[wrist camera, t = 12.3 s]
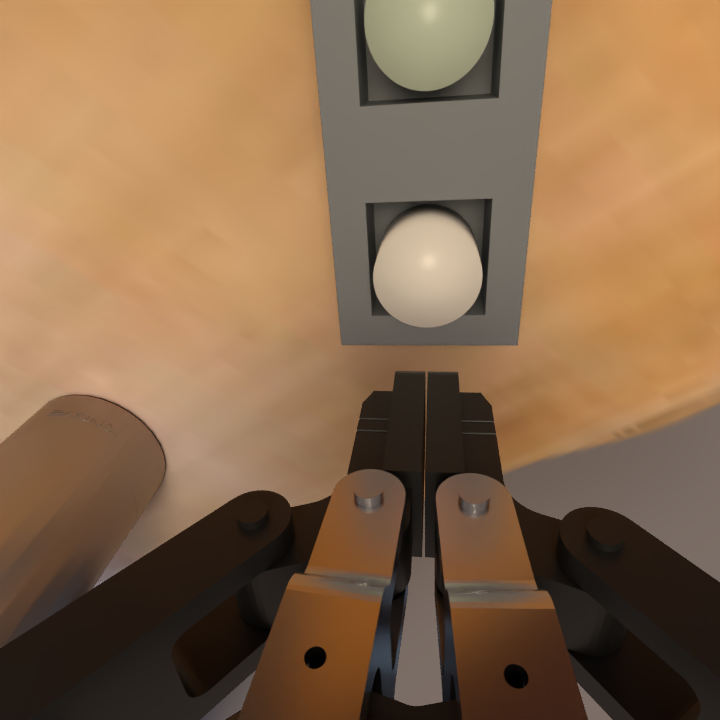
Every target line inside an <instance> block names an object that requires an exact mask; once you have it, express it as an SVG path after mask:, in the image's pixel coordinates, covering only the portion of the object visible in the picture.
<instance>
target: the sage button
mask: <svg viewBox="0 0 720 720" xmlns="http://www.w3.org/2000/svg"><path fill="white" fill-rule="evenodd" d="M493 20H494V0H366V4H365V12H364V26H365V35H366V39H367V44H368V46H369V49H370V52H371V54H372V56H373V58H374V60H375V62H376V63H377V65H378V66H379V68H380V69H381V70H382V71H383V73H384V74H385V75H386V76H388V77H389V78H390V79H391V80H392V81H394V82H395V83H397V84H399V85H401V86H403V87H405V88H408V89H411V90H417V91H432V90H438V89H441V88H444V87H447V86H449V85H451V84H453V83H455V82H456V81H458V80H459V79H461V78H462V77H463V76H464V75H466V74H467V73H468V72H469V71H470V70H471V69H472V68H473V66H474V65H475V64H476V62H477V61H478V60H479V58H480V57H481V55H482V53H483V52H484V49H485V47H486V45H487V43H488V40H489V37H490V34H491V30H492V26H493Z"/></svg>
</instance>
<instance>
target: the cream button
mask: <svg viewBox="0 0 720 720" xmlns="http://www.w3.org/2000/svg"><path fill="white" fill-rule="evenodd" d="M373 283H374V288H375V292H376V295H377V297H378V299H379V301H380V303H381V304H382V306H383V307H384V308H385V310H386V311H387V312H388V313H389V314H391V315H392V316H393V317H394V318H396V319H398V320H399V321H401V322H403V323H406V324H408V325H412V326H416V327H425V328H429V327H438V326H442V325H445V324H448V323H450V322H453V321H455V320H456V319H458V318H460V317H461V316H462V315H464V314H465V313H466V312H467V311H468V310H469V309H470V308H471V306H472V305H473V304H474V302H475V300H476V299H477V297H478V295H479V292H480V289H481V285H482V265H481V261H480V257H479V252H478V248H477V244H476V240H475V236H474V233H473V231H472V229H471V227H470V226H469V224H468V222H467V221H466V220H465V219H464V218H463V217H462V216H461V215H460V214H458V213H457V212H455V211H454V210H452V209H450V208H448V207H445V206H441V205H436V204H424V205H418V206H414V207H412V208H409V209H407V210H405V211H403V212H402V213H400V214H399V215H398V216H397V217H396V218H394V219H393V220H392V222H391V223H390V224H389V226H388V227H387V229H386V230H385V233H384V235H383V238H382V241H381V245H380V248H379V252H378V255H377V259H376V262H375V266H374V271H373Z"/></svg>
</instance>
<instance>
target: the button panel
mask: <svg viewBox="0 0 720 720" xmlns="http://www.w3.org/2000/svg"><path fill="white" fill-rule="evenodd" d="M310 4H311V15H312V26H313V37H314V48H315V59H316V70H317V81H318V92H319V103H320V114H321V125H322V135H323V146H324V157H325V168H326V179H327V190H328V201H329V212H330V223H331V234H332V245H333V256H334V267H335V277H336V288H337V299H338V310H339V321H340V332H341V343H342V345H518V336H519V326H520V316H521V306H522V296H523V286H524V276H525V266H526V256H527V247H528V237H529V227H530V217H531V207H532V197H533V187H534V177H535V167H536V157H537V147H538V137H539V127H540V117H541V107H542V97H543V87H544V77H545V67H546V57H547V48H548V38H549V28H550V18H551V8H552V0H494V20H493V26H492V30H491V34H490V37H489V40H488V43H487V45H486V47H485V49H484V52H483V53H482V55H481V57H480V58H479V60H478V61H477V62H476V64H475V65H474V66H473V68H472V69H471V70H470V71H469V72H468V73H467V74H466V75H464V76H463V77H462V78H461V79H459V80H458V81H456V82H455V83H453V84H451V85H449V86H447V87H444V88H441V89H438V90H432V91H417V90H411V89H408V88H405V87H403V86H401V85H399V84H397V83H395V82H394V81H392V80H391V79H390V78H389V77H388V76H386V75H385V74H384V73H383V71H382V70H381V69H380V68H379V66H378V65H377V63H376V62H375V60H374V58H373V56H372V54H371V52H370V49H369V46H368V44H367V39H366V35H365V26H364V12H365V4H366V0H310ZM424 204H436V205H441V206H445V207H448V208H450V209H452V210H454V211H455V212H457V213H458V214H460V215H461V216H462V217H463V218H464V219H465V220H466V221H467V222H468V224H469V226H470V227H471V229H472V231H473V233H474V236H475V240H476V244H477V248H478V252H479V257H480V261H481V265H482V285H481V289H480V292H479V295H478V297H477V299H476V300H475V302H474V304H473V305H472V306H471V308H470V309H469V310H468V311H467V312H466V313H465V314H464V315H462V316H461V317H460V318H458V319H456V320H455V321H453V322H450V323H448V324H445V325H442V326H438V327H429V328H425V327H416V326H412V325H408V324H406V323H403V322H401V321H399V320H398V319H396V318H394V317H393V316H392V315H391V314H389V313H388V312H387V311H386V310H385V308H384V307H383V306H382V304H381V303H380V301H379V299H378V297H377V295H376V292H375V288H374V283H373V271H374V266H375V262H376V259H377V255H378V252H379V248H380V245H381V241H382V238H383V235H384V233H385V230H386V229H387V227H388V226H389V224H390V223H391V222H392V220H393V219H394V218H396V217H397V216H398V215H399V214H400V213H402V212H403V211H405V210H407V209H409V208H412V207H414V206H418V205H424Z"/></svg>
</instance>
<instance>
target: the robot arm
mask: <svg viewBox="0 0 720 720" xmlns="http://www.w3.org/2000/svg"><path fill="white" fill-rule="evenodd" d="M424 470H425V557H434V558H435V607H436V620H437V632H438V644H439V657H440V669H441V680H442V681H441V682H442V698H443V702H440V703H435V704H429V705H424V706H410V705H406V704H404V703H401V702H399V701H396V700H394V694H395V683H396V675H397V668H398V660H399V653H400V646H401V639H402V632H403V624H404V617H405V610H406V603H407V595H408V583H409V580H410V576H411V562H412V561H411V560H412V556H415V557H422V539H423V504H424ZM164 473H165V460H164V455H163V452H162V450H161V447H160V445H159V443H158V442H157V440H156V439H155V437H154V436H153V434H152V433H151V432H150V431H149V429H148V428H147V427H146V426H145V425H144V424H143V423H142V422H141V421H139V420H138V419H137V418H136V417H134V416H133V415H132V414H131V413H129V412H127V411H126V410H124V409H122V408H120V407H119V406H117V405H115V404H112V403H110V402H107V401H105V400H102V399H98V398H94V397H89V396H79V395H70V396H64V397H59V398H57V399H54V400H52V401H50V402H48V403H47V404H46V405H45V406H43V407H42V408H41V409H40V410H39V411H38V412H36V413H35V414H34V415H33V416H32V417H31V418H30V419H28V420H27V421H26V422H25V423H24V424H23V425H22V426H20V427H19V428H18V429H17V430H16V431H15V432H14V433H12V434H11V435H10V436H9V437H8V438H7V439H6V440H4V441H3V442H2V443H1V444H0V720H200V719H201V718H202V717H203V716H205V715H206V714H207V713H208V712H209V711H210V710H211V709H212V708H214V707H215V706H216V705H217V704H218V703H219V702H220V701H221V700H222V699H224V698H225V697H226V696H227V695H228V694H229V693H230V692H231V691H233V690H234V689H235V688H236V687H237V686H238V685H239V684H240V683H241V682H243V681H244V680H245V679H246V678H247V677H248V676H249V675H250V674H252V673H253V672H254V671H255V670H256V672H255V675H254V677H253V680H252V682H251V685H250V688H249V691H248V693H247V696H246V699H245V701H244V704H243V707H242V710H240V711H239V712H237V713H235V714H234V715H232V716H231V717H229V718H227V719H226V720H588V717H587V714H586V710H585V707H584V704H583V701H582V697H581V694H580V691H579V687H578V684H577V682H578V683H579V684H580V686H581V687H582V688H583V689H584V690H585V691H586V692H587V693H588V694H589V695H590V696H591V697H592V698H593V699H594V700H595V701H596V702H597V704H599V705H600V707H601V708H602V709H603V710H604V711H605V712H606V713H607V714H608V715H609V716H610V717H611V718H612V719H613V720H720V582H718V581H717V580H716V579H714V578H712V577H711V576H710V575H708V574H707V573H706V572H704V571H703V570H701V569H700V568H698V567H697V566H696V565H694V564H693V563H691V562H690V561H688V560H687V559H686V558H684V557H683V556H681V555H680V554H678V553H677V552H676V551H674V550H673V549H671V548H670V547H668V546H667V545H665V544H664V543H663V542H661V541H660V540H658V539H657V538H656V537H654V536H653V535H651V534H650V533H648V532H647V531H646V530H644V529H643V528H641V527H640V526H638V525H637V524H636V523H634V522H633V521H631V520H630V519H628V518H626V517H625V516H623V515H621V514H619V513H617V512H614V511H611V510H608V509H604V508H597V507H584V508H579V509H575V510H573V511H571V512H569V513H568V514H567V515H566V516H565V517H564V518H563V520H559V519H556V518H552V517H549V516H545V515H542V514H539V513H536V512H534V511H531V510H529V509H527V508H526V507H524V506H522V505H521V504H519V503H518V502H517V501H516V500H515V499H513V497H512V496H511V495H510V493H509V491H508V490H507V489H506V487H505V485H504V481H503V475H502V469H501V463H500V456H499V450H498V444H497V437H496V431H495V425H494V419H493V412H492V406H491V405H490V403H489V402H488V401H487V400H486V399H485V398H484V396H483V395H482V394H481V393H462V392H459V378H458V372H428V387H427V424H426V461H425V372H415V371H396V372H395V379H394V387H393V391H373V393H372V394H371V395H370V396H369V397H368V398H367V399H366V400H365V401H364V402H363V404H362V409H361V413H360V420H359V423H358V427H357V432H356V437H355V441H354V446H353V451H352V455H351V460H350V465H349V469H348V474H347V476H345V477H344V478H342V479H341V480H340V481H339V482H338V483H337V485H336V486H335V488H334V490H333V493H332V495H331V496H329V497H327V498H325V499H323V500H320V501H318V502H314V503H310V504H305V505H300V506H295V507H290V504H289V503H288V501H287V500H286V499H285V498H284V497H283V496H281V495H280V494H277V493H275V492H271V491H264V490H262V491H252V492H248V493H244V494H242V495H240V496H238V497H236V498H234V499H232V500H231V501H229V502H228V503H226V504H224V505H223V506H221V507H220V508H218V509H217V510H215V511H214V512H212V513H210V514H209V515H207V516H206V517H204V518H203V519H201V520H200V521H198V522H196V523H195V524H193V525H192V526H190V527H189V528H187V529H185V530H184V531H182V532H181V533H179V534H178V535H176V536H175V537H173V538H171V539H170V540H168V541H167V542H165V543H164V544H162V545H161V546H159V547H157V548H156V549H154V550H153V551H151V552H150V553H148V554H146V555H145V556H143V557H142V558H140V559H139V560H137V561H136V562H134V563H132V564H131V565H129V566H128V567H126V568H125V569H123V570H122V571H120V572H118V573H117V574H115V575H114V576H112V577H111V578H109V579H107V580H106V581H104V582H103V583H101V584H100V585H98V586H97V587H95V588H93V587H94V586H95V584H96V583H97V581H98V580H99V578H100V577H101V575H102V574H103V572H104V570H105V569H106V567H107V566H108V564H109V563H110V561H111V560H112V558H113V557H114V555H115V554H116V552H117V550H118V549H119V547H120V546H121V544H122V543H123V541H124V540H125V538H126V537H127V535H128V533H129V532H130V530H131V529H132V528H133V526H134V525H135V523H136V522H137V520H138V518H139V517H140V515H141V514H142V512H143V511H144V509H145V508H146V506H147V504H148V503H149V501H150V500H151V498H152V497H153V495H154V494H155V492H156V490H157V489H158V487H159V486H160V484H161V482H162V480H163V478H164Z"/></svg>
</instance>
